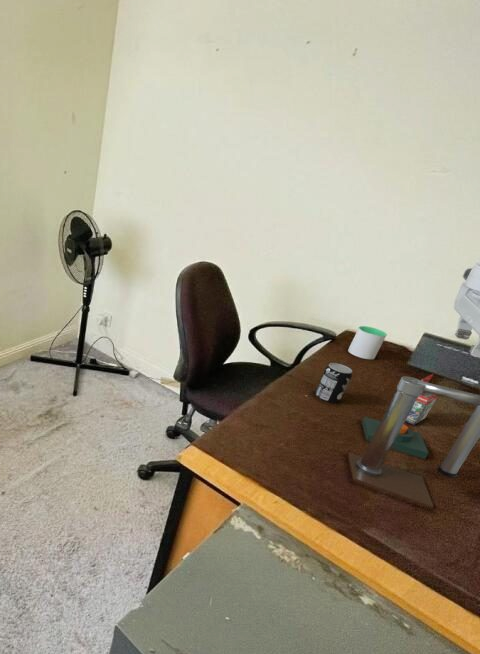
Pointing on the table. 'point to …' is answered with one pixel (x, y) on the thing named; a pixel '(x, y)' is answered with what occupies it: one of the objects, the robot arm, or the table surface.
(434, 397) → the ink box
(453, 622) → the table surface
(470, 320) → the robot arm
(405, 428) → the button
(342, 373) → the beverage can
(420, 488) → the slanted pole stand
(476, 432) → the spout
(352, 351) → the mug
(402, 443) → the button box
